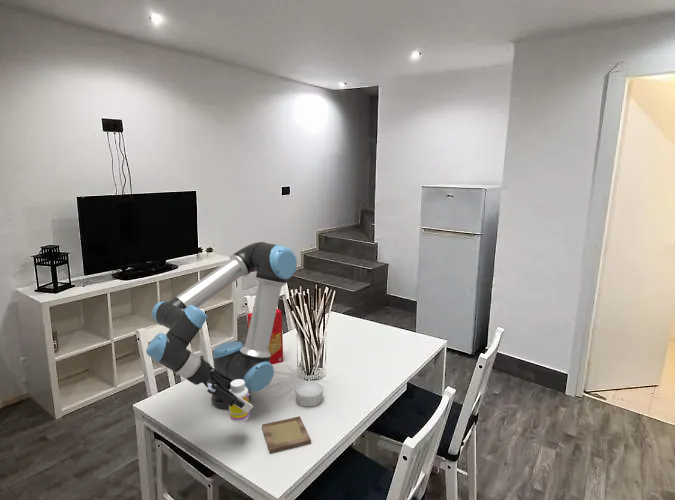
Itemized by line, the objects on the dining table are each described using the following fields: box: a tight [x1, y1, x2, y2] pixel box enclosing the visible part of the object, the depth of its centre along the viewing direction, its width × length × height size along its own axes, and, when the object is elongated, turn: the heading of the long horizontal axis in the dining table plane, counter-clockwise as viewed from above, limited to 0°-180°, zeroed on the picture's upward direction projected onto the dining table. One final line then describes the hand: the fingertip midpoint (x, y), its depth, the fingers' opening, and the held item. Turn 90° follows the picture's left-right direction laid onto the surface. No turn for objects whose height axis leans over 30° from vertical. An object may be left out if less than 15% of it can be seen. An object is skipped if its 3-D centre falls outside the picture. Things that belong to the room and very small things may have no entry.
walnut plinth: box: [261, 416, 312, 454], centre depth 143 cm, size 14×14×2 cm
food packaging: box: [247, 308, 284, 365], centre depth 192 cm, size 15×5×25 cm, turn 118°
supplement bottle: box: [228, 379, 251, 423], centre depth 138 cm, size 7×7×13 cm
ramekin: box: [294, 381, 324, 408], centre depth 164 cm, size 11×11×5 cm
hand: (248, 403), depth 140 cm, fingers closed on supplement bottle, 7 cm apart
